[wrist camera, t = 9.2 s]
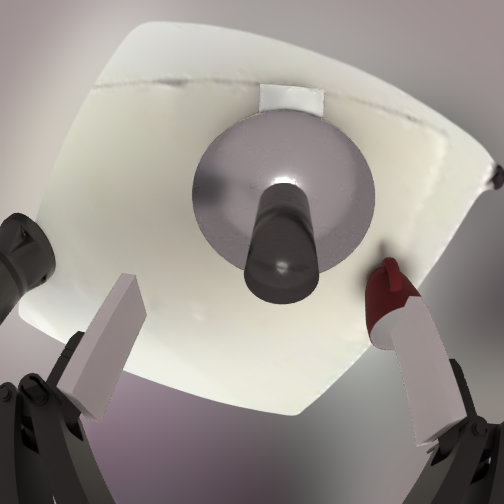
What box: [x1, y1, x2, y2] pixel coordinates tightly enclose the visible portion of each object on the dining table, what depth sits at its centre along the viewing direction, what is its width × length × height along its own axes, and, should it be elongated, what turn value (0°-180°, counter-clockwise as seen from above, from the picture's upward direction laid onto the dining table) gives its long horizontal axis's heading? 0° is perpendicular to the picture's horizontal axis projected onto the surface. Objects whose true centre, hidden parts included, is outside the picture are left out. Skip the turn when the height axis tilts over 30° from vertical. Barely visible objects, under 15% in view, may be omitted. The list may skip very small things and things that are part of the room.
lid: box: [192, 110, 375, 304], centre depth 20 cm, size 15×15×12 cm
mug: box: [365, 257, 427, 350], centre depth 33 cm, size 10×8×10 cm
